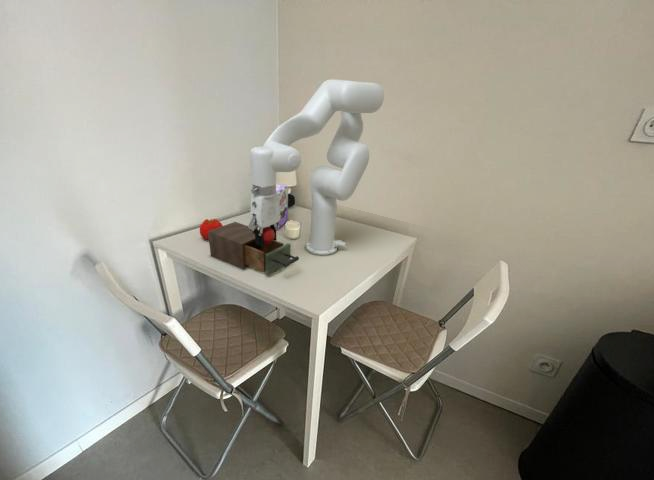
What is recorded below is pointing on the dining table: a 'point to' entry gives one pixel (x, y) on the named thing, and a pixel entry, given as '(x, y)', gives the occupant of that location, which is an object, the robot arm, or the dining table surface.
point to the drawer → (268, 256)
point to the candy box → (282, 204)
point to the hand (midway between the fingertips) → (266, 241)
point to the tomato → (209, 227)
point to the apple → (268, 235)
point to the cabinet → (230, 243)
